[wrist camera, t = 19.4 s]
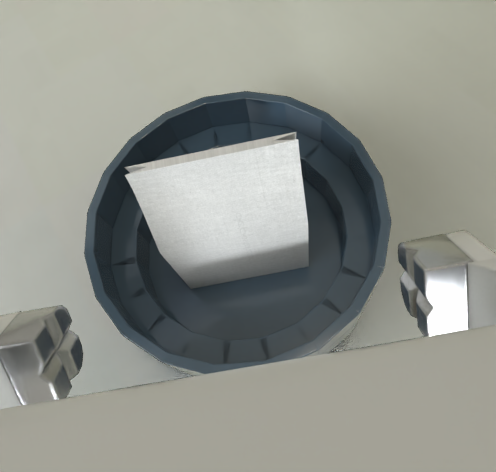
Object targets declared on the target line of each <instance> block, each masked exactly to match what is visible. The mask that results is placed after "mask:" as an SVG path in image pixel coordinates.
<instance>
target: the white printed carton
mask: <svg viewBox="0 0 496 472" xmlns="http://www.w3.org/2000/svg"><path fill="white" fill-rule="evenodd" d="M124 168H125V169H127V170H128V171H129V172H130V173H129V174H126V175H125V177H126V178H127V180H128V182H129V184H130V186H131V188H132V190H133V192H134V194H135V196H136V198H137V201H138V203H139V205H140V207H141V209H142V212H143V214H144V217H145V219H146V221H147V224H148V226H149V228H150V231H151V233H152V236H153V238H154V240H155V243H156V245H157V247H158V250H159V252H160V254H161V255H162V256H163V257H164V258H165V260H166V261H167V262H168V263H169V264H170V265H171V266H172V268H173V269H174V270H175V271H176V272H177V273H178V275H179V276H180V277H181V278H182V279H183V280H184V281H185V283H186V284H187V285H188V286H189V287H190V288H191V289H193V288H198V287H204V286H209V285H214V284H219V283H225V282H230V281H235V280H240V279H246V278H251V277H256V276H261V275H267V274H272V273H277V272H282V271H287V270H293V269H298V268H303V267H308V266H309V246H308V218H307V210H306V203H305V195H304V187H303V179H302V171H301V162H300V153H299V143H298V139H296V132H293V133H288V134H283V135H278V136H273V137H268V138H264V139H259V140H254V141H249V142H244V143H239V144H235V145H230V146H225V147H220V148H215V149H210V150H206V151H201V152H196V153H191V154H186V155H181V156H176V157H172V158H167V159H162V160H157V161H152V162H147V163H143V164H138V165H133V166H128V167H124Z"/></svg>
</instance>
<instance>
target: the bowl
mask: <svg viewBox="0 0 496 472" xmlns="http://www.w3.org/2000/svg"><path fill="white" fill-rule="evenodd" d="M293 132H296V139H298V143H299V153H300V162H301V171H302V179H303V187H304V195H305V203H306V210H307V218H308V246H309V266H308V267H303V268H298V269H293V270H287V271H282V272H277V273H272V274H267V275H261V276H256V277H251V278H246V279H240V280H235V281H230V282H225V283H219V284H214V285H209V286H204V287H198V288H193V289H191V288H190V287H189V286H188V285H187V284H186V283H185V281H184V280H183V279H182V278H181V277H180V276H179V275H178V273H177V272H176V271H175V270H174V269H173V268H172V266H171V265H170V264H169V263H168V262H167V261H166V260H165V258H164V257H163V256H162V255H161V254H160V252H159V250H158V247H157V245H156V243H155V240H154V238H153V236H152V233H151V231H150V228H149V226H148V224H147V221H146V219H145V217H144V214H143V212H142V209H141V207H140V205H139V203H138V201H137V198H136V196H135V194H134V192H133V190H132V188H131V186H130V184H129V182H128V180H127V178H126V177H125V175H126V174H129V173H130V172H129V171H128V170H127V169H125V168H124V167H128V166H133V165H138V164H143V163H147V162H152V161H157V160H162V159H167V158H172V157H176V156H181V155H186V154H191V153H196V152H201V151H206V150H210V149H215V148H220V147H225V146H230V145H235V144H239V143H244V142H249V141H254V140H259V139H264V138H268V137H273V136H278V135H283V134H288V133H293ZM390 228H391V217H390V212H389V207H388V202H387V197H386V192H385V187H384V182H383V178H382V176H381V174H380V173H379V171H378V169H377V168H376V166H375V164H374V163H373V161H372V159H371V158H370V156H369V154H368V153H367V151H366V150H365V148H364V146H363V145H362V143H361V141H360V140H359V139H358V138H357V137H355V136H354V135H353V134H352V133H351V132H350V131H348V130H347V129H346V128H345V127H344V126H342V125H341V124H340V123H339V122H338V121H336V120H335V119H334V118H333V117H332V116H330V115H329V114H328V113H326V112H324V111H322V110H319V109H317V108H314V107H312V106H310V105H307V104H305V103H303V102H300V101H298V100H295V99H293V98H291V97H288V96H281V95H273V94H264V93H256V92H248V91H247V92H246V91H244V92H237V93H230V94H222V95H215V96H208V97H203V98H200V99H198V100H195V101H193V102H190V103H188V104H185V105H183V106H181V107H178V108H176V109H173V110H171V111H168V112H166V113H165V114H162V115H161V116H160V117H158V118H157V119H156V120H154V121H153V122H152V123H150V124H149V125H148V126H146V127H145V128H144V129H142V130H141V131H140V132H138V133H137V134H136V135H134V136H133V137H131V139H129V141H128V142H127V143H126V144H125V146H124V147H123V148H122V149H121V151H120V152H119V153H118V154H117V156H116V157H115V158H114V160H113V161H112V162H111V163H110V165H109V166H108V167H107V168H106V170H105V171H104V173H103V175H102V177H101V180H100V182H99V185H98V187H97V190H96V192H95V195H94V197H93V199H92V202H91V204H90V207H89V209H88V212H87V225H86V238H85V251H84V254H85V259H86V263H87V267H88V271H89V274H90V278H91V282H92V286H93V289H94V293H95V297H96V299H97V300H98V302H99V303H100V304H101V306H102V307H103V309H104V310H105V312H106V313H107V314H108V316H109V317H110V319H111V320H112V321H113V323H114V324H115V326H116V327H117V329H118V330H119V331H120V333H121V334H122V335H123V336H124V337H125V338H127V339H128V340H130V341H131V342H133V343H134V344H136V345H137V346H138V347H140V348H141V349H143V350H144V351H146V352H147V353H149V354H150V355H152V356H153V357H155V358H156V359H157V360H159V361H160V362H162V363H164V364H166V365H168V366H171V367H173V368H175V369H178V370H180V371H182V372H185V373H187V374H190V375H194V376H198V375H204V374H209V373H215V372H221V371H227V370H233V369H239V368H245V367H250V366H256V365H262V364H268V363H274V362H280V361H286V360H292V359H297V358H303V357H309V356H315V355H321V354H327V353H329V352H330V351H331V350H333V349H334V348H335V347H336V346H337V345H338V344H339V343H340V342H341V341H342V340H344V339H345V338H346V337H347V336H348V335H349V334H350V333H351V332H352V331H353V329H354V327H355V325H356V323H357V322H358V320H359V318H360V316H361V314H362V313H363V311H364V309H365V307H366V305H367V303H368V302H369V300H370V298H371V296H372V294H373V292H374V290H375V288H376V286H377V283H378V281H379V279H380V277H381V275H382V273H383V270H384V267H385V261H386V254H387V248H388V241H389V235H390Z"/></svg>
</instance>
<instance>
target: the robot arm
mask: <svg viewBox="0 0 496 472" xmlns="http://www.w3.org/2000/svg"><path fill="white" fill-rule="evenodd" d="M398 258H399V263H400V264H401V265H402V267H403V268H404V270H405V271H404V273H403V274H402V276H401V278H400V282H401V291H402V295H403V300H404V303H405V305H406V308H407V310H408V312H409V313H410V315H411V316H412V317H415V318H417V321H418V328H419V329H420V331H421V332H422V334H423V335H424V337H420V338H414V339H409V340H403V341H397V342H391V343H385V344H379V345H374V346H368V347H362V348H356V349H350V350H344V351H339V352H333V353H327V354H321V355H315V356H309V357H303V358H297V359H292V360H286V361H280V362H274V363H268V364H262V365H256V366H250V367H245V368H239V369H233V370H227V371H221V372H215V373H209V374H204V375H198V376H192V377H186V378H180V379H174V380H168V381H162V382H157V383H151V384H145V385H139V386H133V387H127V388H121V389H115V390H110V391H104V392H98V393H92V394H86V395H80V396H74V397H68V398H66V397H67V395H68V393H69V391H70V389H71V387H72V386H71V383H70V380H71V379H72V378H74V377H75V376H76V375H77V374H78V373H79V371H80V369H81V367H82V360H83V351H82V346H81V342H80V340H79V337H78V336H77V335H76V334H75V333H73V332H72V331H71V330H69V328H70V325H71V322H72V320H71V317H70V315H69V313H68V311H67V309H66V308H65V307H63V306H62V305H59V306H53V307H47V308H41V309H35V310H29V311H23V312H21V311H20V312H15V313H10V314H6V315H1V316H0V472H496V254H495V253H494V252H493V251H492V250H490V249H489V248H488V247H487V246H485V245H484V244H483V243H482V242H480V241H479V240H478V239H477V238H475V237H474V236H473V235H472V234H470V233H469V232H468V231H465V230H461V231H457V232H453V233H448V234H440V235H436V236H431V237H426V238H421V239H416V240H411V241H407V242H402V243H400V244H399V246H398Z"/></svg>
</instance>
